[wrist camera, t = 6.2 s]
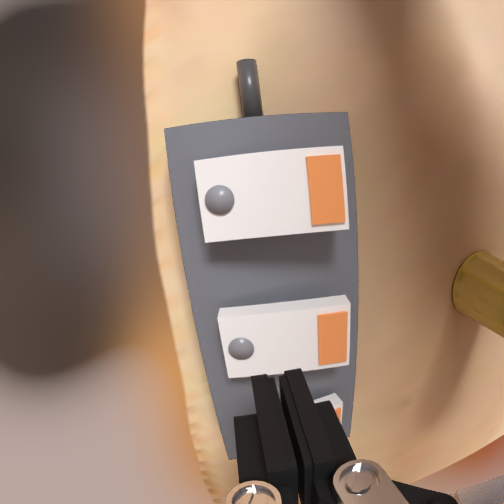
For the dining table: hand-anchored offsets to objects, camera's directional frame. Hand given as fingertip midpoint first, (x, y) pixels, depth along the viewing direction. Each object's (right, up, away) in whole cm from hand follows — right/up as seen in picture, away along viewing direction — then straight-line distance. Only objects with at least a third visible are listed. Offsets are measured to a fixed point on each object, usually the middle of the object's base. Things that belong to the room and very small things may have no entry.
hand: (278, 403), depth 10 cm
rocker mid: (+1, 0, +8) cm, 8 cm away
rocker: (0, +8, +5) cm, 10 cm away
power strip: (0, +3, +12) cm, 12 cm away
